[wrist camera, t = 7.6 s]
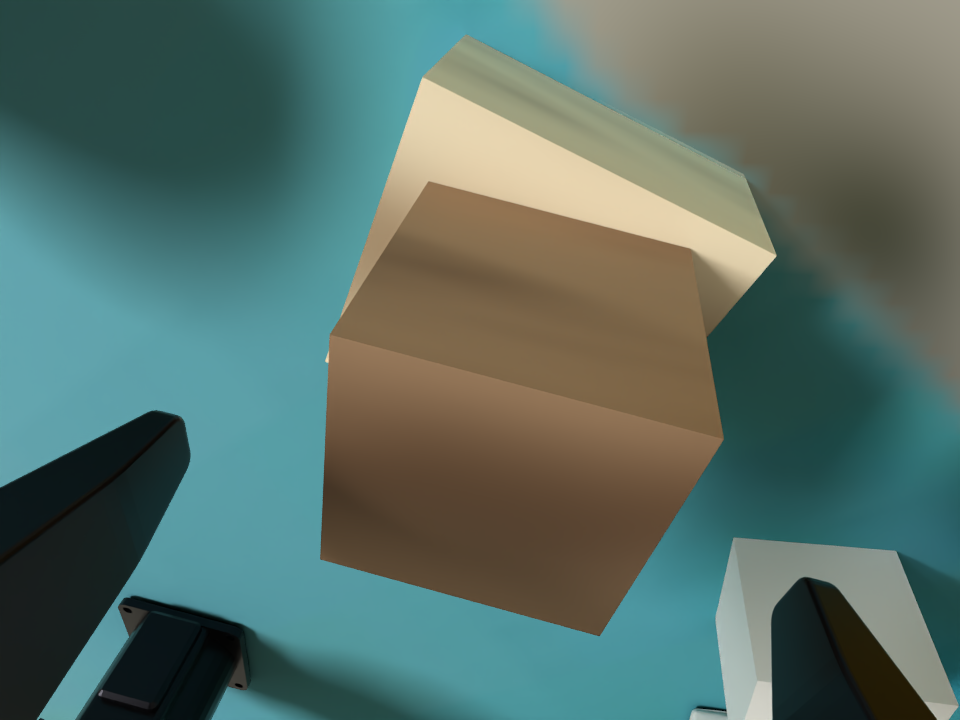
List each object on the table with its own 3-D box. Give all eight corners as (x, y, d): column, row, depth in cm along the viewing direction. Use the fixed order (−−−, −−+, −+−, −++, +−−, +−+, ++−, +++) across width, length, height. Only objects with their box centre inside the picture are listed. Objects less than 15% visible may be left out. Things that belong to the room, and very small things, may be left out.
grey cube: (855, 631, 24) (902, 781, 20) (715, 616, 24) (732, 756, 21) (895, 548, 21) (958, 705, 17) (733, 535, 22) (757, 680, 18)
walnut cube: (606, 434, 15) (599, 635, 11) (400, 379, 15) (320, 558, 11) (690, 249, 12) (724, 438, 8) (428, 180, 12) (329, 334, 8)
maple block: (592, 377, 19) (586, 477, 16) (377, 277, 18) (325, 361, 15) (743, 174, 14) (777, 255, 11) (468, 32, 14) (422, 77, 11)
